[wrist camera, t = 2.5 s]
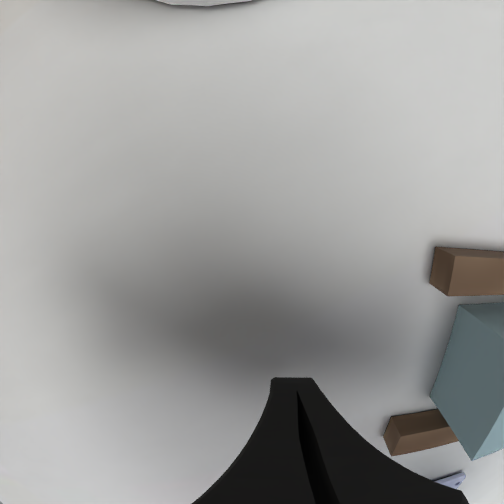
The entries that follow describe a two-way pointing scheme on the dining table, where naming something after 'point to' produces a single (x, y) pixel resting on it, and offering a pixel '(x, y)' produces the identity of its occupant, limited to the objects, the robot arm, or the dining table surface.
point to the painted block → (474, 379)
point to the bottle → (200, 2)
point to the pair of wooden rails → (451, 284)
